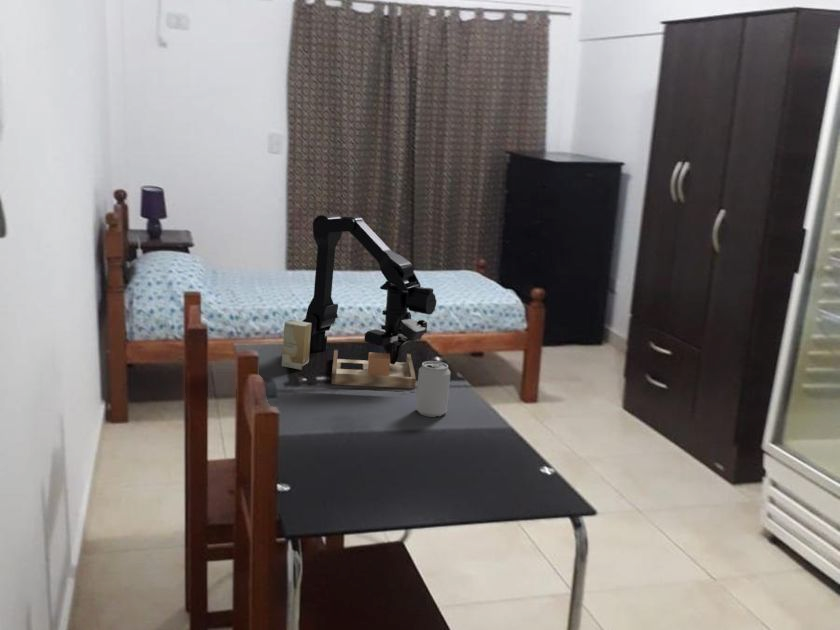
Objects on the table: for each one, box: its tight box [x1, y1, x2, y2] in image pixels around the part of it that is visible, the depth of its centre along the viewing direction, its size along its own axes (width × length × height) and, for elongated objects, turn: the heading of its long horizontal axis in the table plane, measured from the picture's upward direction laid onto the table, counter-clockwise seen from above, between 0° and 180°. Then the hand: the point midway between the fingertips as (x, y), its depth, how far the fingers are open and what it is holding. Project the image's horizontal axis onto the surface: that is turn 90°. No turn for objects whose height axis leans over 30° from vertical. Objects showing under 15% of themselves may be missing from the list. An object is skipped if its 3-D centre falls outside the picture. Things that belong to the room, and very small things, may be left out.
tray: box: [330, 349, 417, 393], centre depth 225 cm, size 21×22×4 cm
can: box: [415, 360, 451, 418], centre depth 201 cm, size 8×8×12 cm
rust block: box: [367, 351, 390, 376], centre depth 226 cm, size 6×6×4 cm
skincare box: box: [281, 319, 312, 371], centre depth 228 cm, size 6×4×12 cm
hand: (392, 364), depth 231 cm, fingers closed
